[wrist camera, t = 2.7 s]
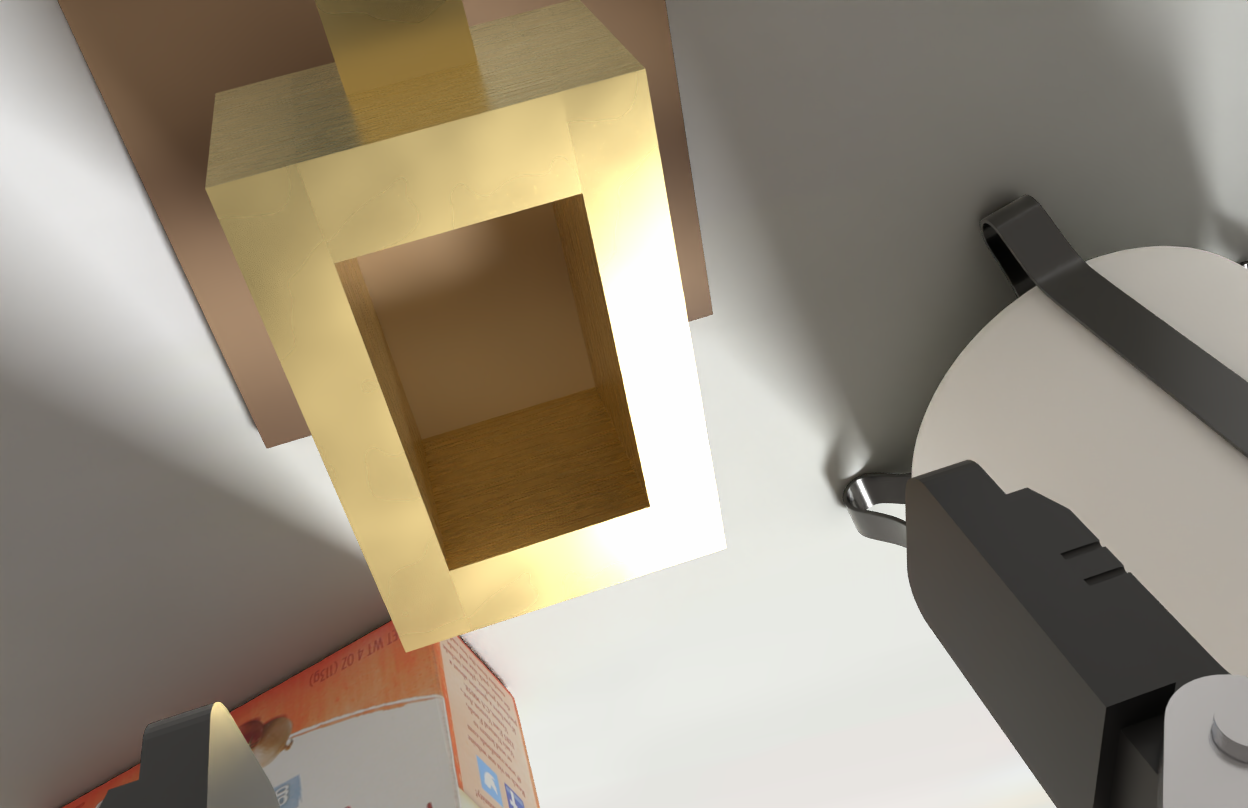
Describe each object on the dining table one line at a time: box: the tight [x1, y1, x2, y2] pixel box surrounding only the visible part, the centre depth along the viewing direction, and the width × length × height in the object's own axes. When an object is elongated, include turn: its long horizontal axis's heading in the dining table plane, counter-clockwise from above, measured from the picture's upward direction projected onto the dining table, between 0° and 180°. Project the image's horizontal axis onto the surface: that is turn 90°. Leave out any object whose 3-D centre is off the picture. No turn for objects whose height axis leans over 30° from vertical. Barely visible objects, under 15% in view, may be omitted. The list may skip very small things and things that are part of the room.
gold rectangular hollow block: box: [205, 0, 726, 652], centre depth 19 cm, size 10×6×4 cm, turn 11°
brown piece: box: [58, 0, 713, 448], centre depth 23 cm, size 12×12×6 cm
